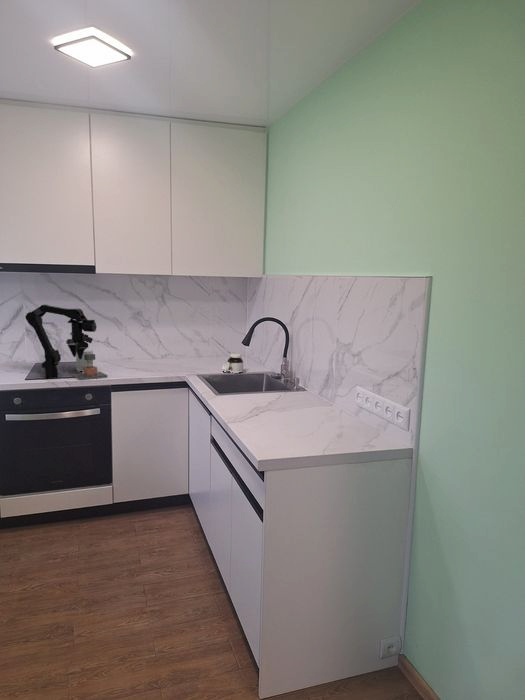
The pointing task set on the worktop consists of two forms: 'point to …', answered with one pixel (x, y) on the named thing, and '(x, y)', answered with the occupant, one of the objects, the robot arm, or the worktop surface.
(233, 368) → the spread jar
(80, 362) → the supplement box
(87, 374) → the stand base
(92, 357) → the jack column
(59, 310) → the robot arm
